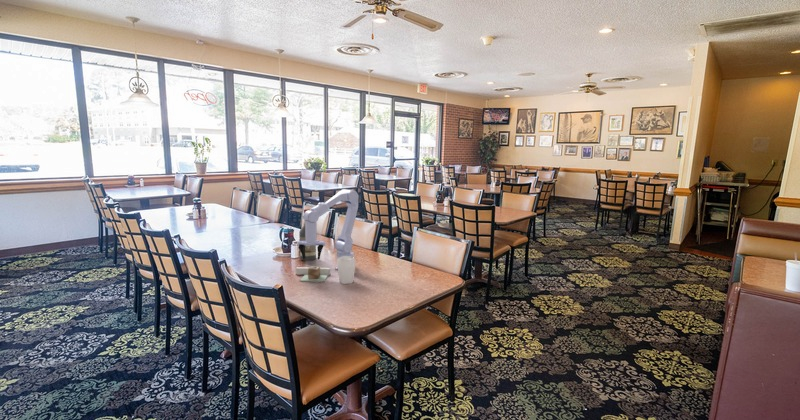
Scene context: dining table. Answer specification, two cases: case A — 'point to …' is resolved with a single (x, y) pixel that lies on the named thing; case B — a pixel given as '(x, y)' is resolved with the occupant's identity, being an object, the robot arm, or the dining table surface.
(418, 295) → the dining table surface
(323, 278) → the sage mat
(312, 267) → the walnut cube
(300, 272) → the grey screen
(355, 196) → the robot arm
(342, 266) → the cup
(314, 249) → the liquor
